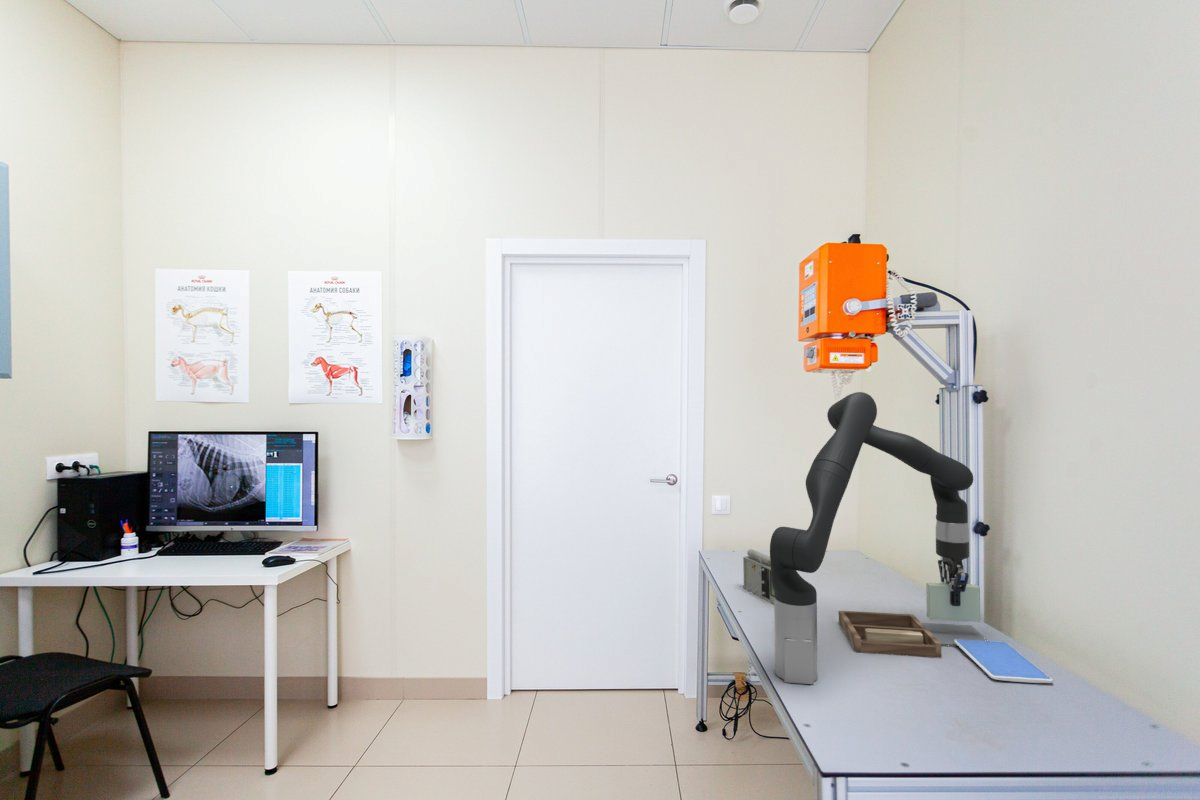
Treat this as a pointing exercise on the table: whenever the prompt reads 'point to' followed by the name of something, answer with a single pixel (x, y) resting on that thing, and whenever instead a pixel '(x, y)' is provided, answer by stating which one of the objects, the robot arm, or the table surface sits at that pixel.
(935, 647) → the storage rack
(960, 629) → the mat
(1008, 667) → the tablet computer
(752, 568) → the geiger counter
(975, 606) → the tall block
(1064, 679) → the table surface
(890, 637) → the offcut stack
